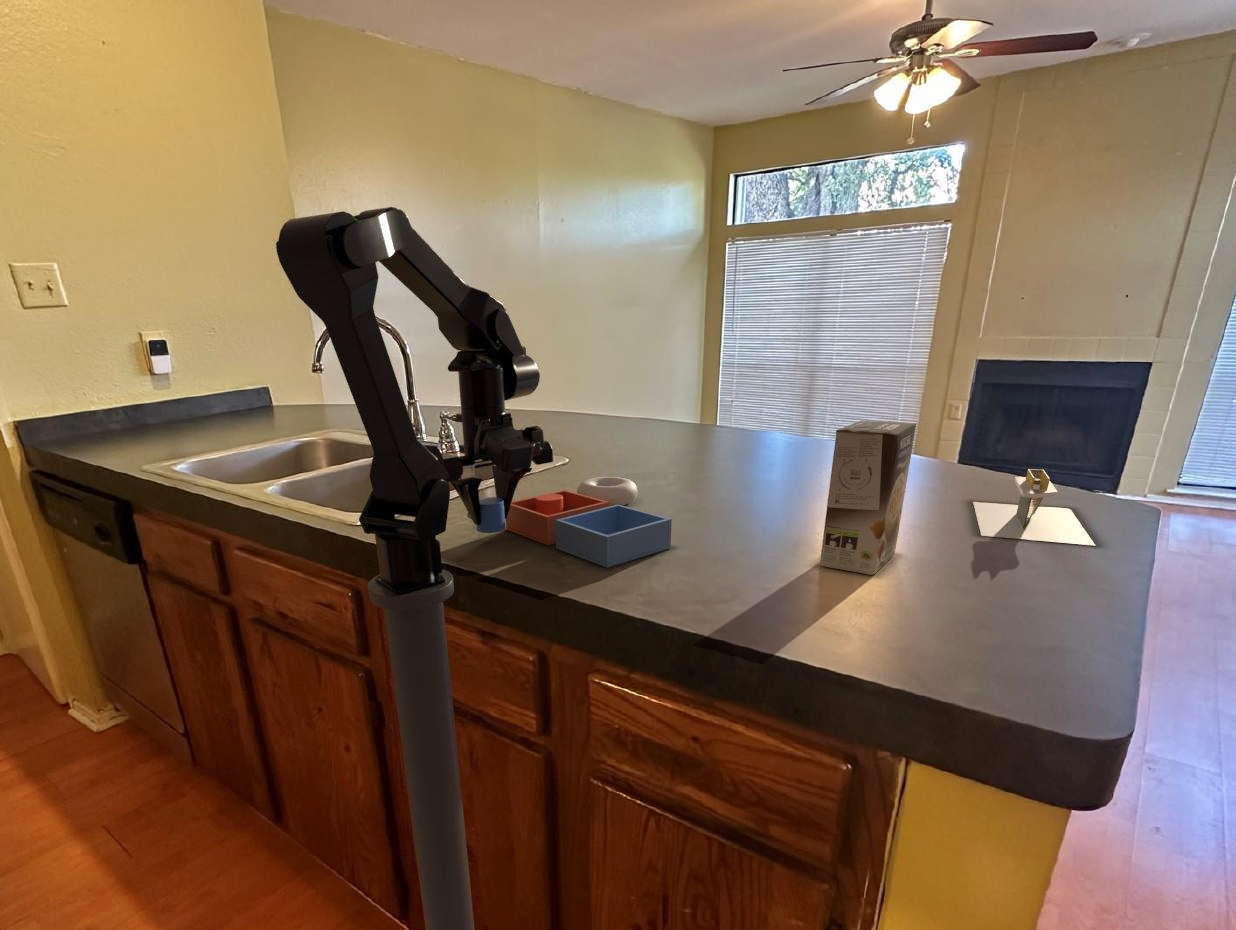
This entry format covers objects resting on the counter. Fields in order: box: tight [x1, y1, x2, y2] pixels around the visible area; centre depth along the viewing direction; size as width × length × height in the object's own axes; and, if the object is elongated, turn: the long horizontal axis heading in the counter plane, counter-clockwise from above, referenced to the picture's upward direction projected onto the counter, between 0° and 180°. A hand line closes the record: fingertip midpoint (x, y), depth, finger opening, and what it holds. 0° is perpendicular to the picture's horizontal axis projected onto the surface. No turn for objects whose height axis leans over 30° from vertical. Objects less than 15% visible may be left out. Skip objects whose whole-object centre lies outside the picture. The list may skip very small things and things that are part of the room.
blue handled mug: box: [467, 496, 506, 534], centre depth 96 cm, size 8×4×4 cm, turn 36°
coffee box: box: [819, 420, 917, 576], centre depth 81 cm, size 9×6×16 cm
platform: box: [972, 468, 1097, 546], centre depth 94 cm, size 12×18×7 cm, turn 152°
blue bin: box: [555, 505, 673, 569], centre depth 91 cm, size 11×10×4 cm
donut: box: [576, 476, 639, 507], centre depth 113 cm, size 10×4×10 cm
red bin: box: [505, 489, 609, 546], centre depth 100 cm, size 11×10×4 cm
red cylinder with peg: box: [535, 493, 563, 516], centre depth 100 cm, size 8×4×4 cm, turn 36°
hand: (490, 521), depth 95 cm, fingers closed on blue handled mug, 4 cm apart
